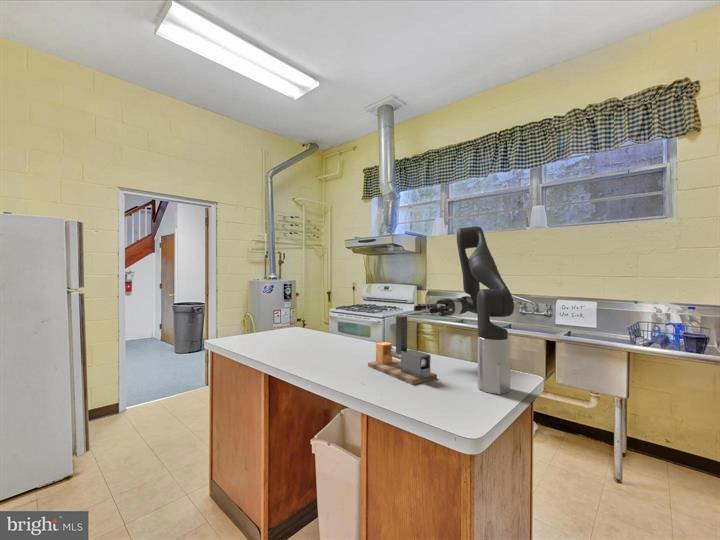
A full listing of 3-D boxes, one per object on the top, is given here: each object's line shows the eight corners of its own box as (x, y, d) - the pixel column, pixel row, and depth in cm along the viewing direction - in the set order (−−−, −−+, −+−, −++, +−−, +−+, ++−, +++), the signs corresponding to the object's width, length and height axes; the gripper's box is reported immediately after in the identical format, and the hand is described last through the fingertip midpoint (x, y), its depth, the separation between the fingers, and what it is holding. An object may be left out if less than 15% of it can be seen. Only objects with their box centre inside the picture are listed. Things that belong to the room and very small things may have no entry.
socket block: (392, 362, 132) (392, 343, 133) (382, 364, 130) (382, 345, 130) (385, 360, 136) (386, 341, 136) (376, 361, 133) (376, 343, 133)
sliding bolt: (427, 366, 115) (427, 320, 115) (421, 367, 113) (421, 320, 113) (394, 355, 129) (395, 314, 129) (389, 356, 128) (389, 315, 128)
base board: (436, 378, 117) (436, 374, 117) (412, 385, 110) (412, 380, 110) (390, 361, 139) (390, 358, 139) (367, 366, 132) (368, 362, 132)
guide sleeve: (430, 376, 115) (430, 354, 115) (419, 378, 112) (420, 356, 112) (410, 369, 123) (410, 349, 123) (400, 371, 120) (400, 350, 121)
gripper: (436, 297, 145) (409, 298, 136) (462, 299, 134) (435, 301, 125) (436, 313, 146) (409, 316, 136) (462, 317, 134) (435, 321, 125)
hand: (422, 309), depth 130 cm, fingers open, 8 cm apart
